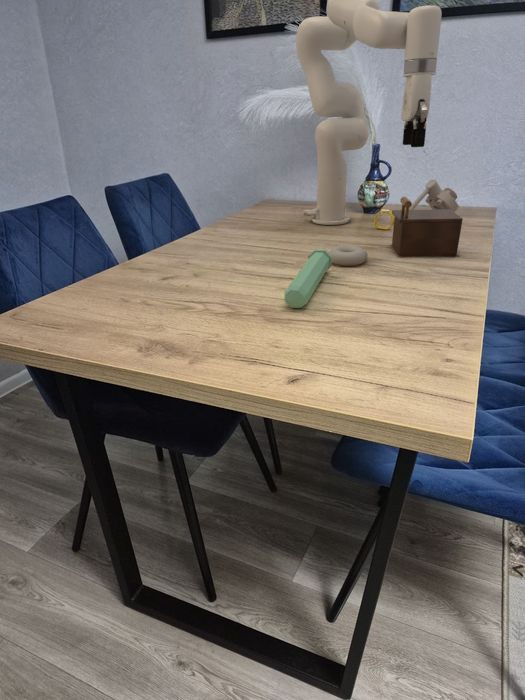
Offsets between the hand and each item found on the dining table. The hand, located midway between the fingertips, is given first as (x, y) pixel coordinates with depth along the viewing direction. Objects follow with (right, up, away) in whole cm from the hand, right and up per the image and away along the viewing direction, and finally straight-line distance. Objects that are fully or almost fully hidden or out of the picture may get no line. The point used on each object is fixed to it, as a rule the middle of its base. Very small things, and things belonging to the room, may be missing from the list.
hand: (412, 145), depth 122 cm
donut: (-17, -30, -1) cm, 35 cm away
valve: (+16, -9, +37) cm, 42 cm away
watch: (-1, -15, +28) cm, 31 cm away
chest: (+4, -26, +6) cm, 27 cm away
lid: (+4, -18, +1) cm, 18 cm away
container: (-29, -40, -18) cm, 52 cm away
